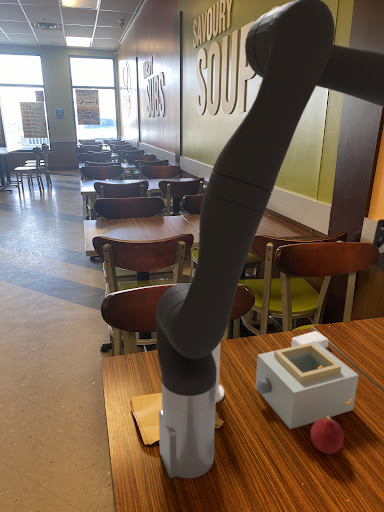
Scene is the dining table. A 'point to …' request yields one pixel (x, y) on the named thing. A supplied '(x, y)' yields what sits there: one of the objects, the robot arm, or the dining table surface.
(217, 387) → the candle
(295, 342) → the soap
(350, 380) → the box
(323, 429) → the onion
